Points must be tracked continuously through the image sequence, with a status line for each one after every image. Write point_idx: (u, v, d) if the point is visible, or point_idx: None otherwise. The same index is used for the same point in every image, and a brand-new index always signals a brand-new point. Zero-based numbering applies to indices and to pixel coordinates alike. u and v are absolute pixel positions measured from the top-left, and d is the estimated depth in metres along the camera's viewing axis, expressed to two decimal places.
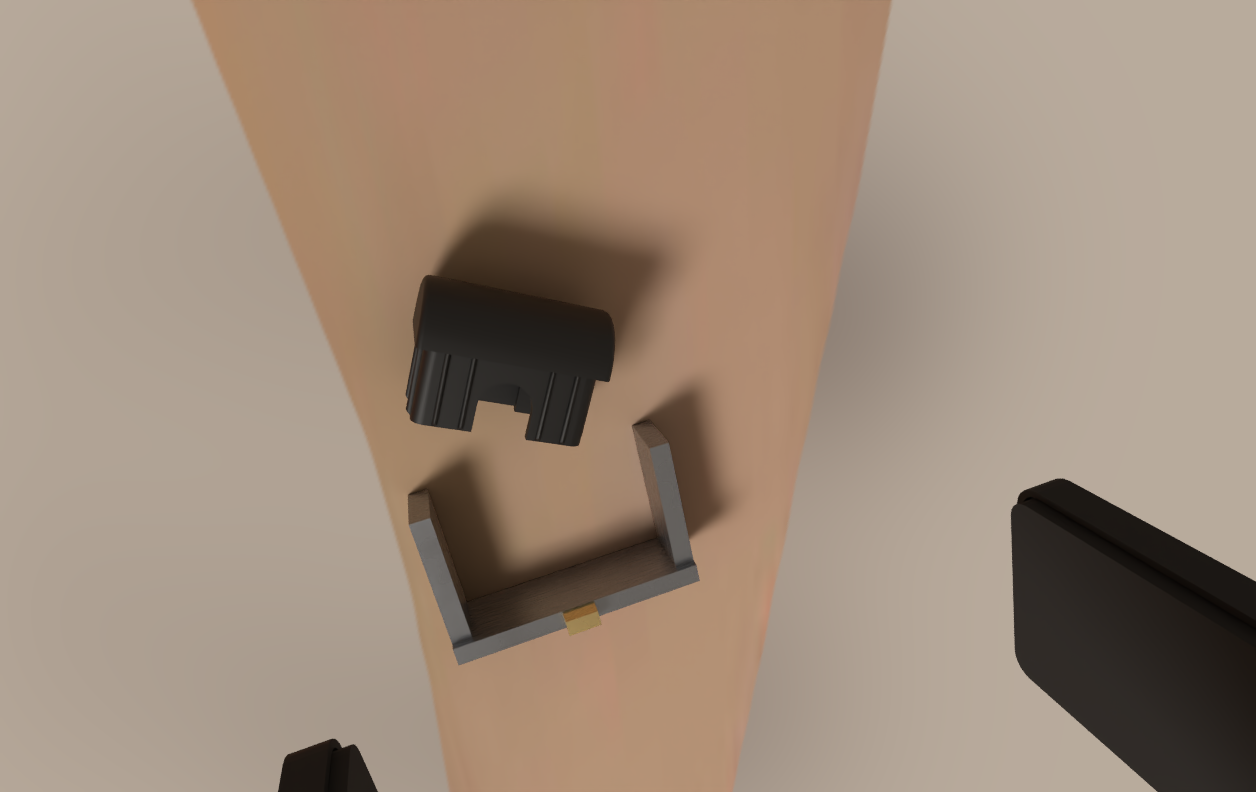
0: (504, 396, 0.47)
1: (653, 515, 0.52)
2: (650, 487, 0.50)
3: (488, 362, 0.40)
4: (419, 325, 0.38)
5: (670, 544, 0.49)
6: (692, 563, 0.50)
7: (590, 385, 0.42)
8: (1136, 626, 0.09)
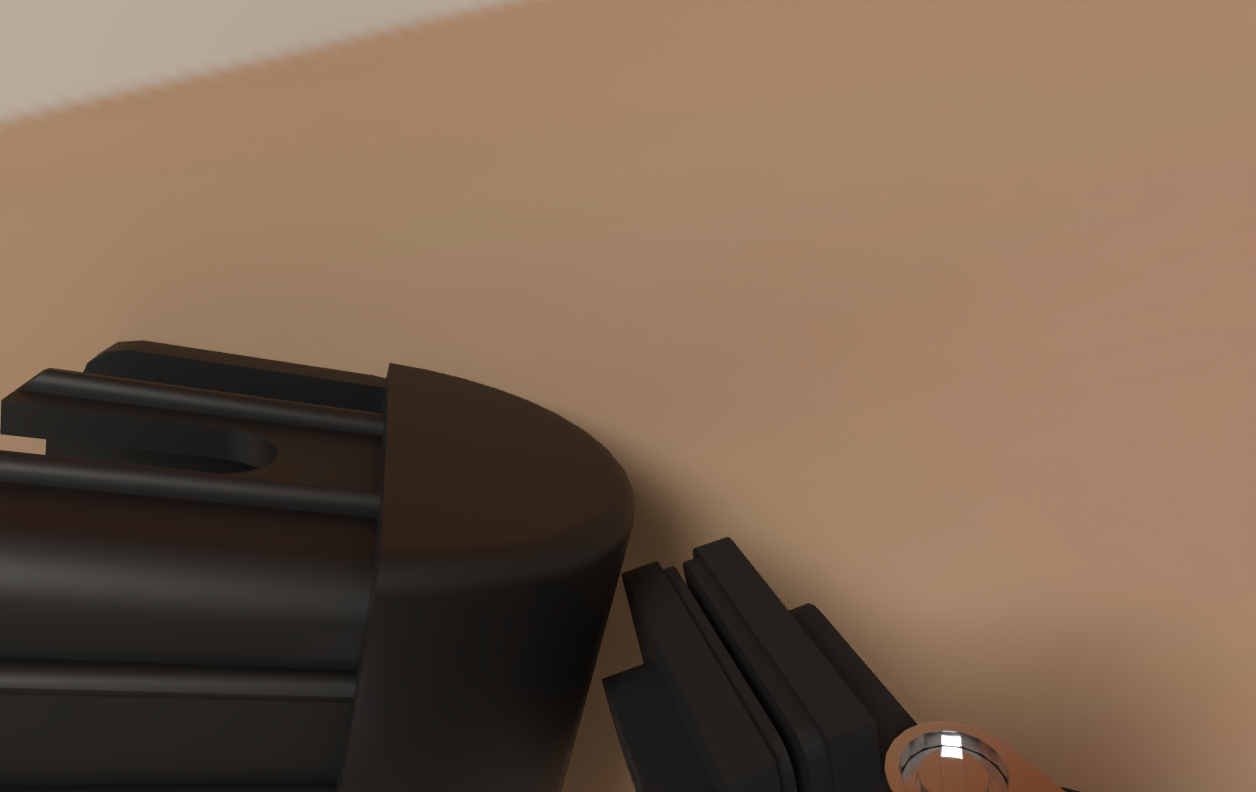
0: None
1: None
2: None
3: None
4: (500, 553, 0.07)
5: None
6: None
7: None
8: None
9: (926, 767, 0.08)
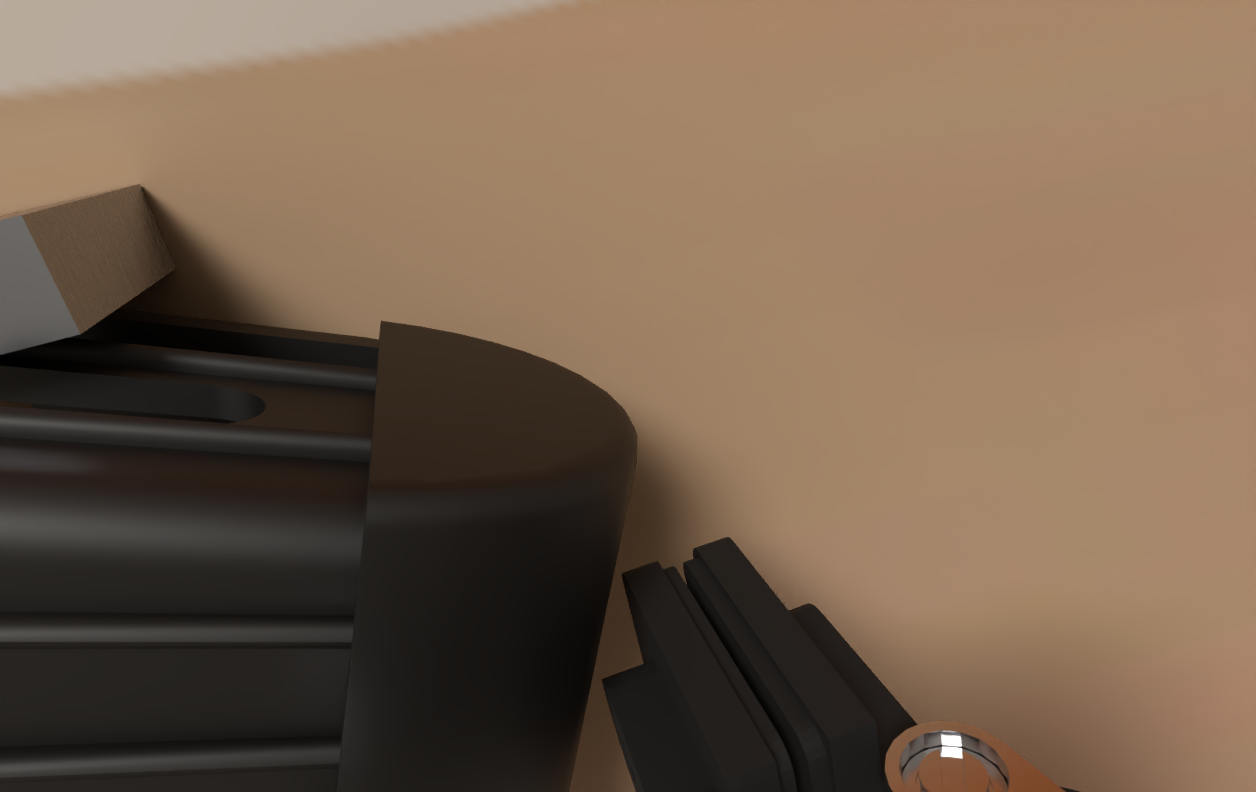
0: None
1: None
2: None
3: None
4: (495, 484, 0.07)
5: None
6: None
7: None
8: None
9: (926, 767, 0.08)
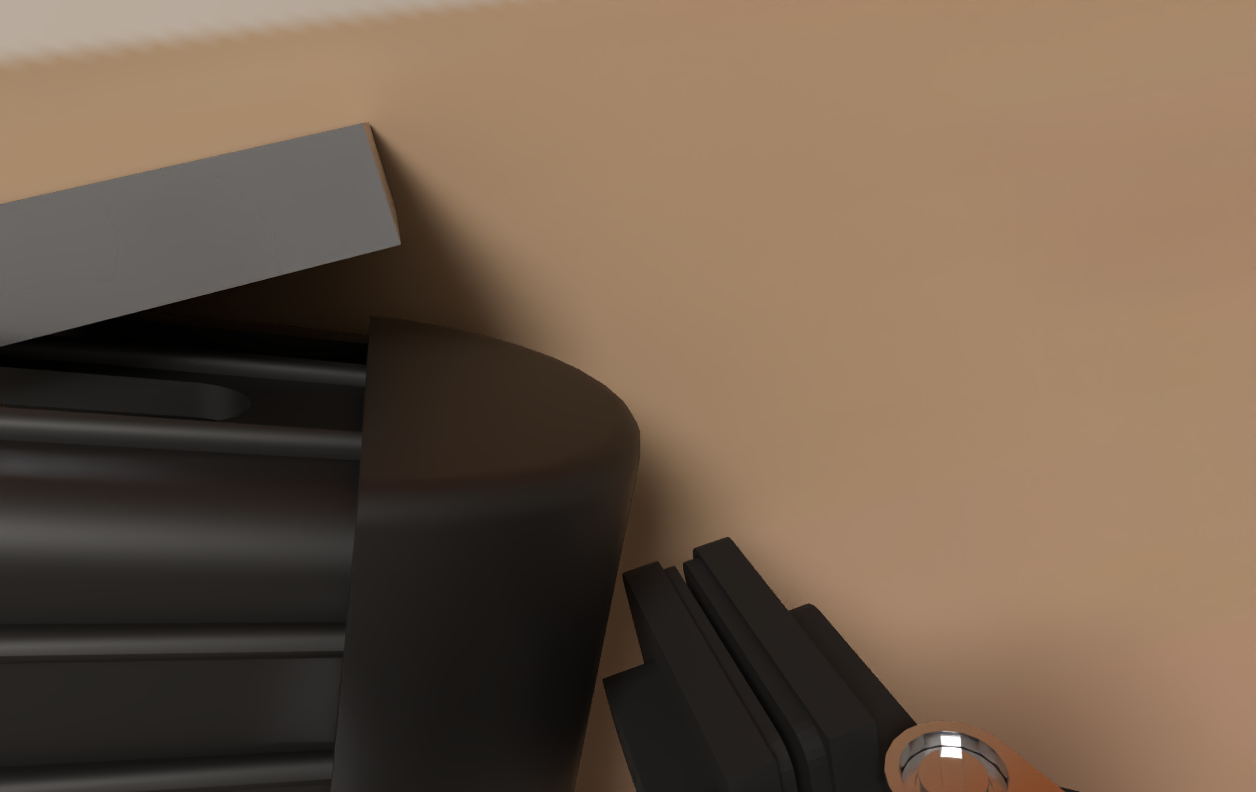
0: None
1: None
2: None
3: None
4: (494, 481, 0.07)
5: None
6: None
7: None
8: None
9: (926, 767, 0.08)
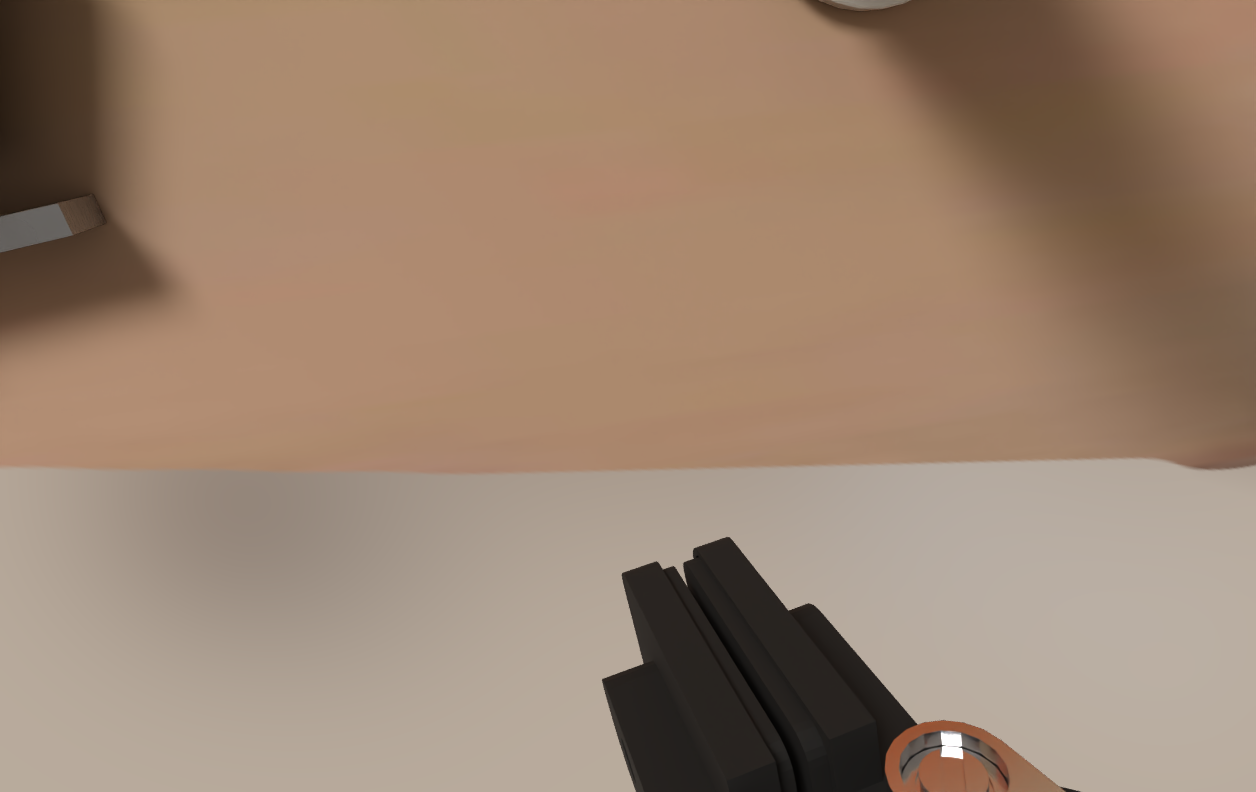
0: None
1: None
2: None
3: None
4: None
5: None
6: None
7: None
8: None
9: (926, 767, 0.08)
